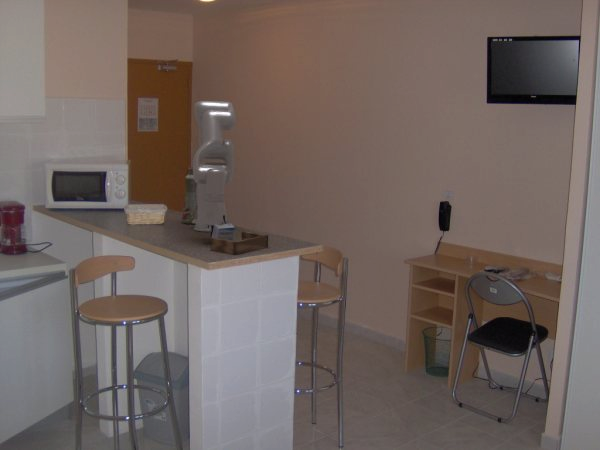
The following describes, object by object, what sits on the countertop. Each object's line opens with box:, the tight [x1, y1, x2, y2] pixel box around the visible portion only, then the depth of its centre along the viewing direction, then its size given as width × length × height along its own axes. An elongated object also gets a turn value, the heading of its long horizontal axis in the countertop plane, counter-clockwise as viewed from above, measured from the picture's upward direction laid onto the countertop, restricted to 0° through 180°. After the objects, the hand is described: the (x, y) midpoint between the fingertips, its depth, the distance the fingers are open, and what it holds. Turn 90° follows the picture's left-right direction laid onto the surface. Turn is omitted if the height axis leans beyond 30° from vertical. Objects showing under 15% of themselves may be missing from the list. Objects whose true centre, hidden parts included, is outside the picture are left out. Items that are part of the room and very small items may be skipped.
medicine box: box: [212, 222, 236, 241], centre depth 298 cm, size 8×4×9 cm, turn 125°
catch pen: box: [209, 231, 269, 256], centre depth 294 cm, size 13×21×5 cm, turn 146°
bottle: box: [180, 166, 198, 225], centre depth 349 cm, size 9×9×28 cm
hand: (214, 241), depth 302 cm, fingers closed
